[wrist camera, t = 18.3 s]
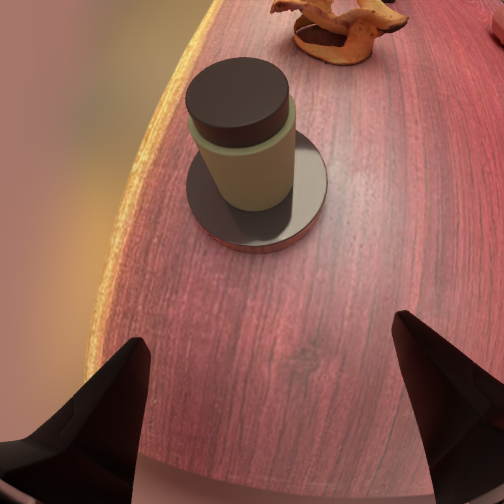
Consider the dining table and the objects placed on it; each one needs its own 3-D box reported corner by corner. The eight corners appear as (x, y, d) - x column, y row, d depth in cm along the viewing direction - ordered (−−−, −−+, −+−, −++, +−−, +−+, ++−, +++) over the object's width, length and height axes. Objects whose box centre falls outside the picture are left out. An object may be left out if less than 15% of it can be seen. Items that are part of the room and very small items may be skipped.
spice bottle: (308, 189, 18) (320, 103, 10) (237, 225, 18) (203, 155, 10) (270, 133, 19) (260, 41, 11) (205, 165, 19) (163, 82, 11)
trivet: (272, 282, 19) (270, 277, 17) (169, 206, 21) (159, 195, 19) (347, 177, 20) (353, 163, 18) (246, 118, 22) (243, 102, 20)
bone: (271, 67, 23) (263, -8, 15) (276, 16, 25) (270, -44, 17) (400, 81, 21) (425, 14, 13) (382, 27, 24) (394, -30, 15)
